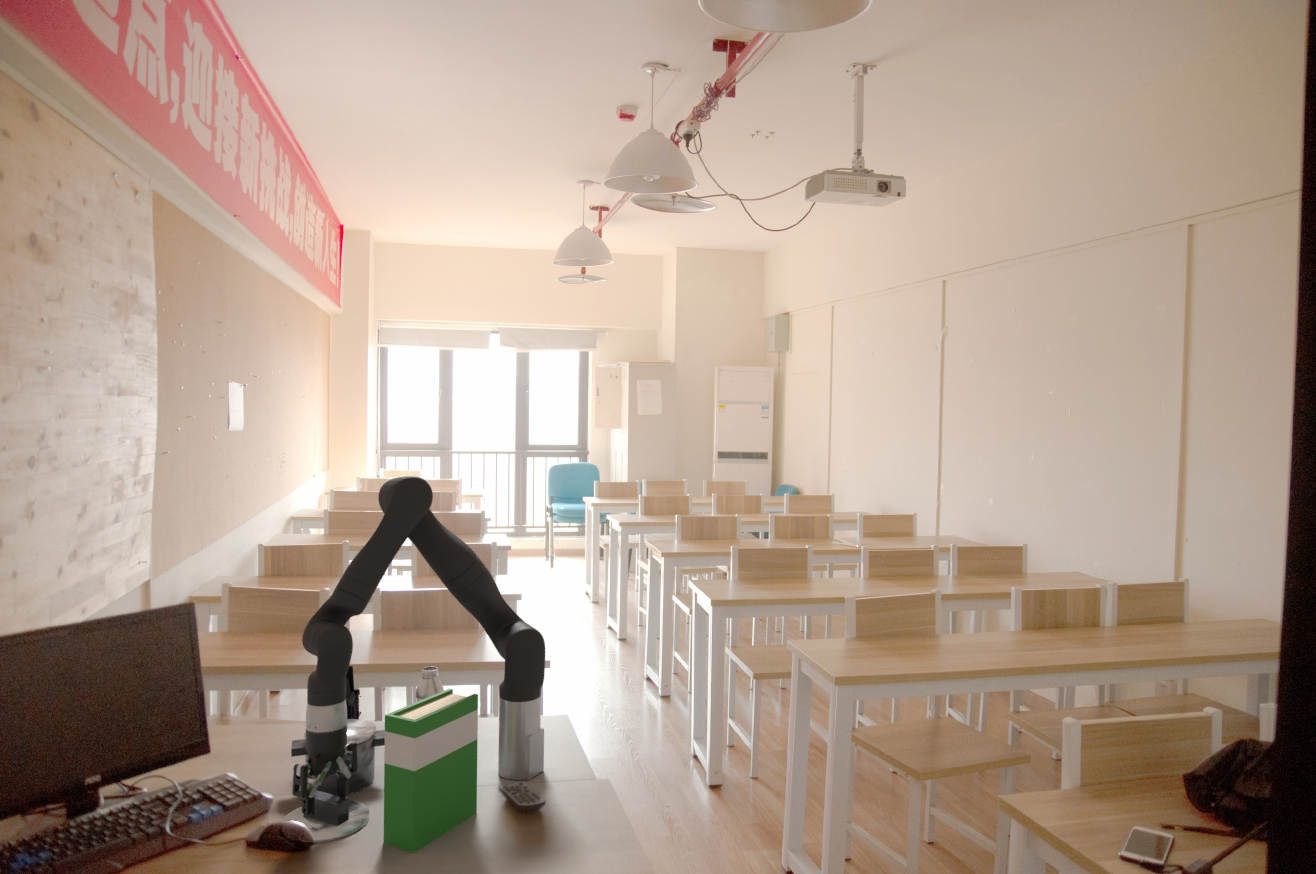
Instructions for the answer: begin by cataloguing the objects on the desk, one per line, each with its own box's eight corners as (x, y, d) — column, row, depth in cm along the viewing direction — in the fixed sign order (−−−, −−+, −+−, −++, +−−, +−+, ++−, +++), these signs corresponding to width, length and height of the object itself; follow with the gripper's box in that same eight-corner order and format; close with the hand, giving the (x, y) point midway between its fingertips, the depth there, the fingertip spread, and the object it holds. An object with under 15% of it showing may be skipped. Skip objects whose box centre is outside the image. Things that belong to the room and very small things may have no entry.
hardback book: (447, 805, 172) (449, 688, 171) (476, 813, 168) (478, 694, 168) (383, 843, 156) (384, 715, 155) (413, 853, 152) (415, 722, 152)
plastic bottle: (436, 759, 194) (437, 673, 194) (409, 756, 196) (410, 671, 195) (448, 748, 201) (449, 665, 200) (422, 746, 202) (423, 663, 202)
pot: (385, 762, 192) (385, 714, 192) (389, 789, 179) (389, 737, 178) (292, 774, 185) (293, 724, 185) (289, 802, 171) (290, 749, 171)
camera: (367, 736, 208) (367, 656, 207) (354, 758, 194) (355, 672, 194) (324, 738, 206) (325, 656, 206) (309, 760, 193) (310, 673, 192)
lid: (386, 815, 168) (387, 789, 167) (324, 852, 153) (324, 824, 153) (327, 798, 174) (327, 773, 174) (262, 832, 160) (262, 805, 160)
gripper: (312, 739, 155) (311, 826, 156) (367, 715, 168) (367, 795, 169) (282, 732, 158) (282, 817, 159) (339, 709, 171) (338, 788, 172)
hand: (325, 806), depth 164 cm, fingers open, 8 cm apart
